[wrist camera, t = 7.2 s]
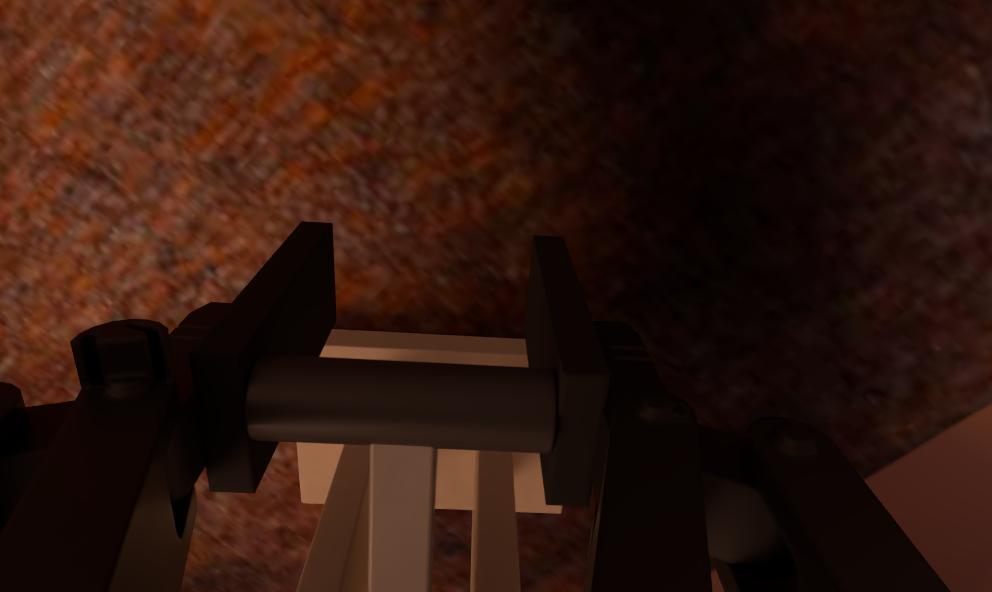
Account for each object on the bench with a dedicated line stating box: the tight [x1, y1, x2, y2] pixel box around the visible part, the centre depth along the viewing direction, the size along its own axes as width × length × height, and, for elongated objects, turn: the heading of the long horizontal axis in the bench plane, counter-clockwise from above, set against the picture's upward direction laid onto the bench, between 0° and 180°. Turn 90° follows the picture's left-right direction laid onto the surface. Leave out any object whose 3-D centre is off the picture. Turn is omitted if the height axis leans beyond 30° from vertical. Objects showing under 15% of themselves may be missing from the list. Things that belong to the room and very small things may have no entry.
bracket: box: [296, 329, 562, 592], centre depth 17 cm, size 7×10×14 cm
